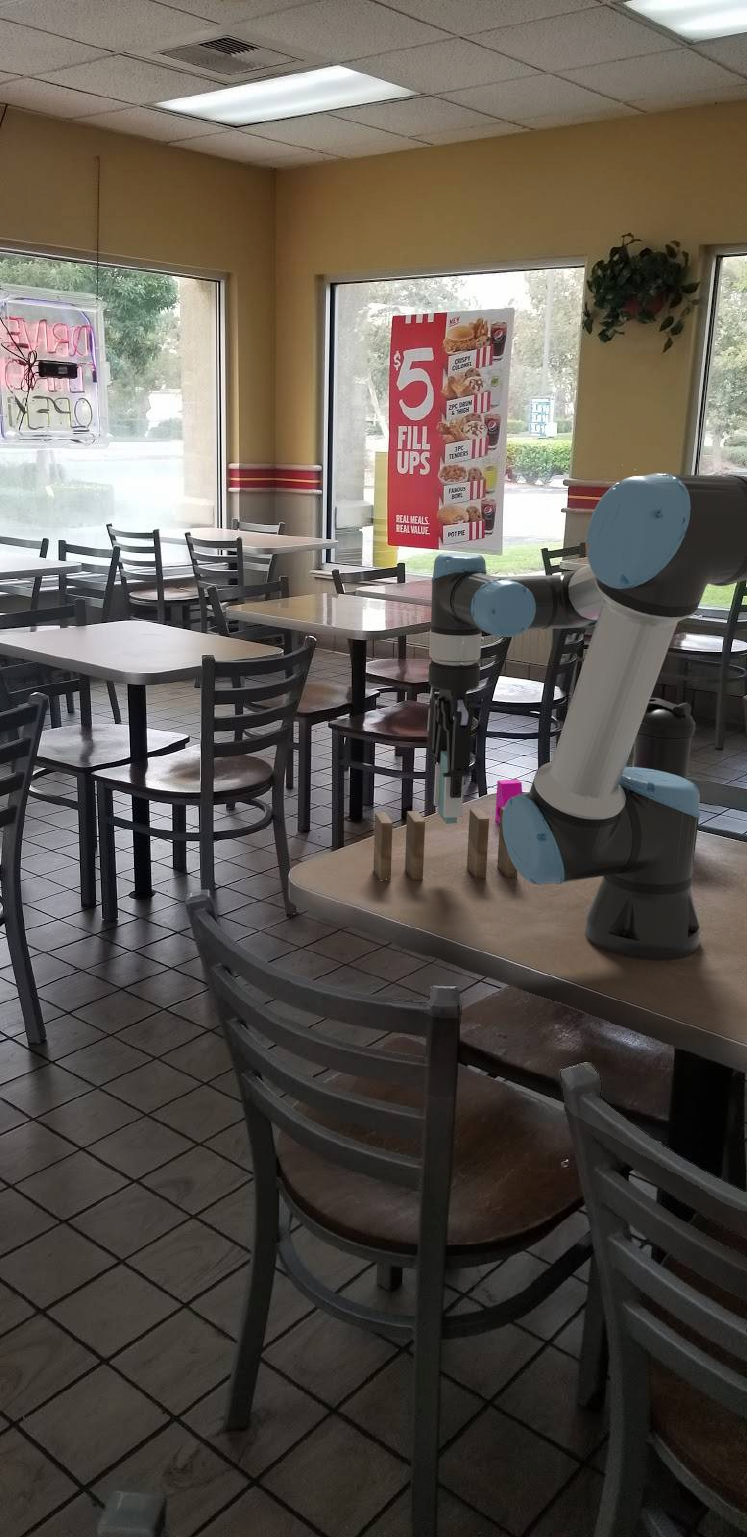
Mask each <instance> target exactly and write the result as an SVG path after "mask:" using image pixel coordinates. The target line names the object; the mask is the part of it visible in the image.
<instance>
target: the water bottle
mask: <svg viewBox="0 0 747 1537" xmlns="http://www.w3.org/2000/svg"><path fill="white" fill-rule="evenodd" d="M692 710H693V709H692V706H691V704H690V703H688V702H682V703H680V704H675V703H673V702H670V701H667V700H666V699H665V700H664V699H662V698H659V697H650V700H649V703H648V705H647V708H646V711H645V714H644V716H643V719H642V722H641V725H640V727H639V730H638V733H637V736H636V738H635V741H634V744H633V757H632V767H638V768H647V769H653V770H658V771H662V772H667V773H670V774H674V775H677V776H680V777H682V778H685V779H687V775H688V769H689V760H690V753H691V745H692V738H693V737H694V735H695V734H696V732H695V731H696V722H695V721H694V718H693V716H692V715H691V712H692Z"/></svg>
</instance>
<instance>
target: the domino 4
mask: <svg viewBox="0 0 747 1537" xmlns="http://www.w3.org/2000/svg"><path fill="white" fill-rule="evenodd" d="M468 817H469V818H468V837H467V853H466V854H467V856H466V857H467V858H466V868H467V870H468V871H469V872H470V873H471V874H472V876H474V878H475V879H487V865H488V864H487V862H488V848H489V830H490V818H489V817H488V815H487V814H486V813H485V812H484V811H483V810H482V809H481V808H478V807H477V808H469V816H468Z"/></svg>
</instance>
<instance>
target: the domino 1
mask: <svg viewBox="0 0 747 1537" xmlns="http://www.w3.org/2000/svg"><path fill="white" fill-rule="evenodd" d="M373 836H374V838H373V839H374V841H373V844H374V845H373V872H374V871H375V872H374V873H375V875H376V874H377V875H376V877H377V876H378V877H377V878H378V880H379V879H380V880H386V879H387V880H391V881H392V855H393V854H392V853H393V852H392V849H393V846H392V845H393V821H392V820H391V818H390V817H389V816H388V813H386V812H385V811H383V812H382V811H380V812H374V835H373ZM380 880H379V881H380Z"/></svg>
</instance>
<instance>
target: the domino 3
mask: <svg viewBox="0 0 747 1537" xmlns="http://www.w3.org/2000/svg"><path fill="white" fill-rule="evenodd" d="M447 771H448V769H447V751H441V760H440V783H439V804H438V806H437V814H438V815H439V816H440V818H441V819H442V820H443V821H444V822H445V824H447V825H449V824H457V823H458V817H450V818H444V817H443V809H444V788H445V777H443V773H447Z"/></svg>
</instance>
